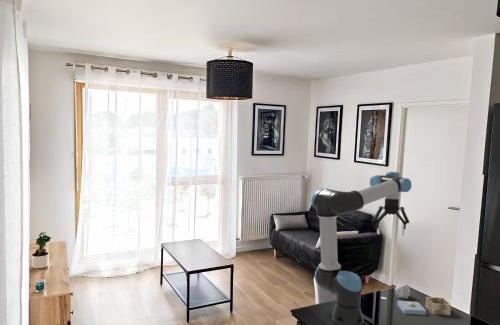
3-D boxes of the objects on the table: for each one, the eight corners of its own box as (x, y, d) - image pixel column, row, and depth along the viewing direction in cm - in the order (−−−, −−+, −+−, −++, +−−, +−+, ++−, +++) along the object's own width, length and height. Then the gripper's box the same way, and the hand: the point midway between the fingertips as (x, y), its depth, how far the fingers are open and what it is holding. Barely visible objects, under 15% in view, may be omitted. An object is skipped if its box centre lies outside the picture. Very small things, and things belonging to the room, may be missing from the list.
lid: (404, 315, 189) (404, 307, 189) (397, 306, 200) (397, 298, 200) (425, 316, 188) (426, 308, 188) (417, 307, 199) (417, 300, 199)
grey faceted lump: (390, 295, 215) (391, 286, 210) (400, 286, 219) (401, 276, 213) (403, 305, 209) (404, 295, 203) (413, 296, 212) (414, 286, 207)
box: (432, 315, 190) (433, 303, 189) (425, 307, 199) (426, 296, 198) (450, 316, 189) (451, 304, 189) (442, 308, 198) (443, 297, 198)
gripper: (371, 198, 208) (370, 234, 208) (416, 199, 206) (414, 236, 207) (368, 196, 215) (366, 231, 216) (411, 198, 213) (409, 233, 214)
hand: (390, 234), depth 211 cm, fingers open, 13 cm apart
